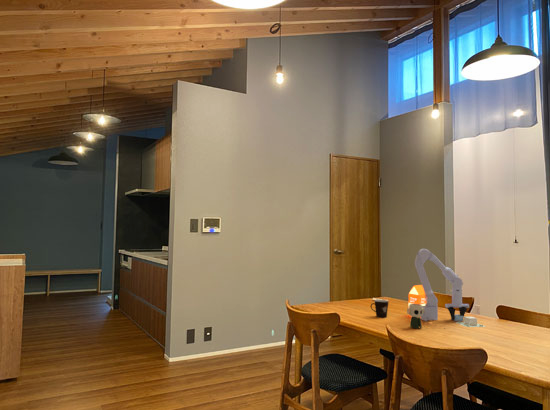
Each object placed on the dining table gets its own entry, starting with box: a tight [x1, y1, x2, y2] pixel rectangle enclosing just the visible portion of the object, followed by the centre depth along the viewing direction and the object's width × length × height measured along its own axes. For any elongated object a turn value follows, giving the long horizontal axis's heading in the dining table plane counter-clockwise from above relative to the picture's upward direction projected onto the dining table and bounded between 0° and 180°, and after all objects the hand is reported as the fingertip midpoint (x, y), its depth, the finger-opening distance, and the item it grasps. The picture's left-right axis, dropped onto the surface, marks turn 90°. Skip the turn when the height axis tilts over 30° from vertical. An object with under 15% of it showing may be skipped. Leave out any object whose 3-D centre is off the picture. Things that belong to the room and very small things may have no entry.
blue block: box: [450, 313, 464, 322], centre depth 251 cm, size 5×5×4 cm
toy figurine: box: [406, 303, 424, 329], centre depth 232 cm, size 11×7×13 cm, turn 106°
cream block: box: [463, 316, 478, 326], centre depth 239 cm, size 5×5×4 cm
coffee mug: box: [370, 299, 389, 319], centre depth 263 cm, size 12×9×10 cm
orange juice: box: [408, 284, 427, 318], centre depth 266 cm, size 8×9×20 cm
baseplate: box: [454, 321, 487, 328], centre depth 239 cm, size 12×12×2 cm
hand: (457, 319), depth 251 cm, fingers closed on blue block, 5 cm apart
